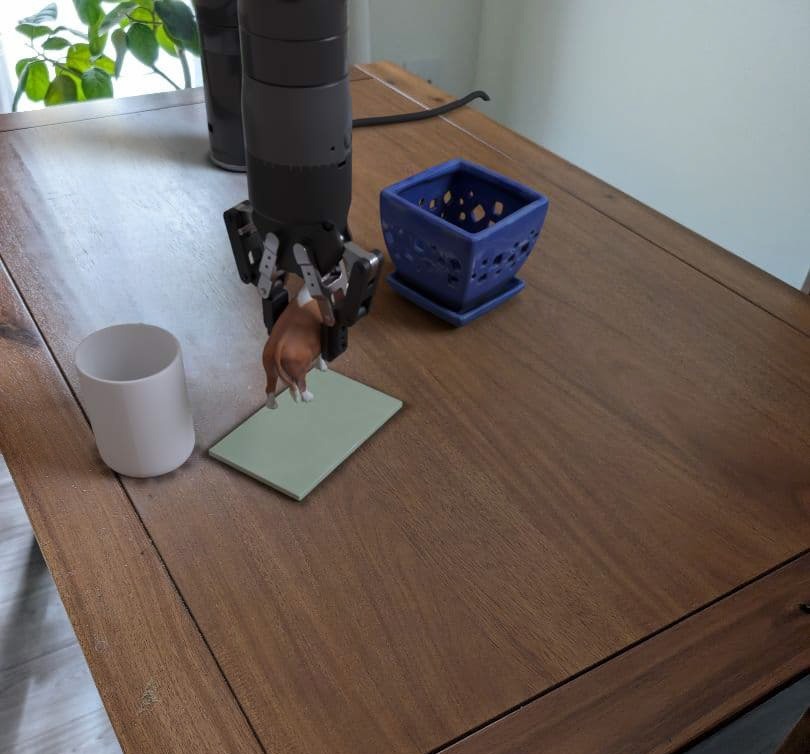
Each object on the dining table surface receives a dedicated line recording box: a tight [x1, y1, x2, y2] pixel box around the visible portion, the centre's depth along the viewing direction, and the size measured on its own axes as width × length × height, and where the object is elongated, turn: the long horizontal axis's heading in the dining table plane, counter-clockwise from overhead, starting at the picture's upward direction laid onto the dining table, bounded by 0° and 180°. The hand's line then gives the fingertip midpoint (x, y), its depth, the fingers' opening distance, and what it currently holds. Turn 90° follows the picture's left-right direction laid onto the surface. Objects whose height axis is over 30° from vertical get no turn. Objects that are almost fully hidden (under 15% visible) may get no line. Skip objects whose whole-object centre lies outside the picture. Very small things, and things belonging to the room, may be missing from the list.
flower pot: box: [378, 157, 550, 328], centre depth 91 cm, size 13×13×12 cm
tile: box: [208, 366, 403, 502], centre depth 79 cm, size 16×10×1 cm, turn 147°
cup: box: [73, 322, 196, 479], centre depth 73 cm, size 8×12×10 cm
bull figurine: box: [261, 273, 349, 409], centre depth 72 cm, size 4×13×8 cm, turn 161°
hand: (305, 344), depth 72 cm, fingers closed on bull figurine, 5 cm apart
